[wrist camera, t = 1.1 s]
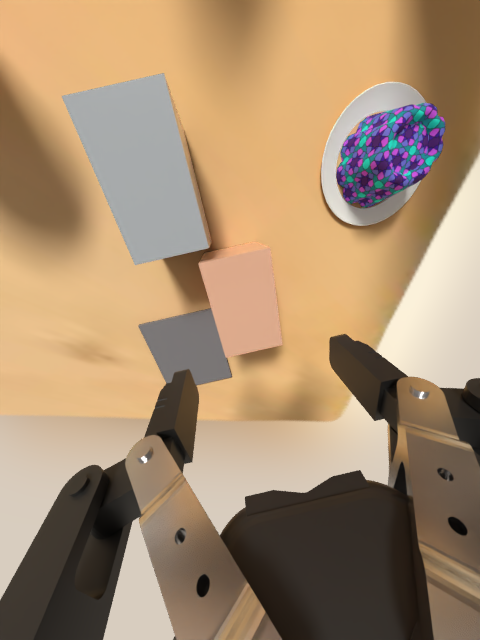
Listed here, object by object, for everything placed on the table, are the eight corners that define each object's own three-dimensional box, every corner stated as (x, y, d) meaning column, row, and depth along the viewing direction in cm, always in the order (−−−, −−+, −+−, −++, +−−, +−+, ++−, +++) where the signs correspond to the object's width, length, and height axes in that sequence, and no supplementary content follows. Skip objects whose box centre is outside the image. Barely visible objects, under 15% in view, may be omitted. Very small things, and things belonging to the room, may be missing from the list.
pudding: (449, 111, 20) (520, 76, 15) (388, 236, 25) (428, 238, 20) (347, 65, 18) (394, 7, 13) (302, 211, 23) (324, 207, 18)
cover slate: (183, 129, 18) (163, 73, 12) (211, 241, 23) (209, 248, 16) (119, 144, 18) (61, 96, 12) (159, 253, 23) (135, 265, 16)
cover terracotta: (255, 241, 23) (270, 247, 16) (266, 316, 28) (282, 344, 21) (204, 253, 23) (198, 263, 16) (223, 325, 28) (225, 357, 21)
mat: (212, 308, 26) (212, 309, 26) (231, 375, 32) (231, 377, 31) (139, 324, 26) (138, 325, 26) (171, 389, 31) (170, 390, 31)
